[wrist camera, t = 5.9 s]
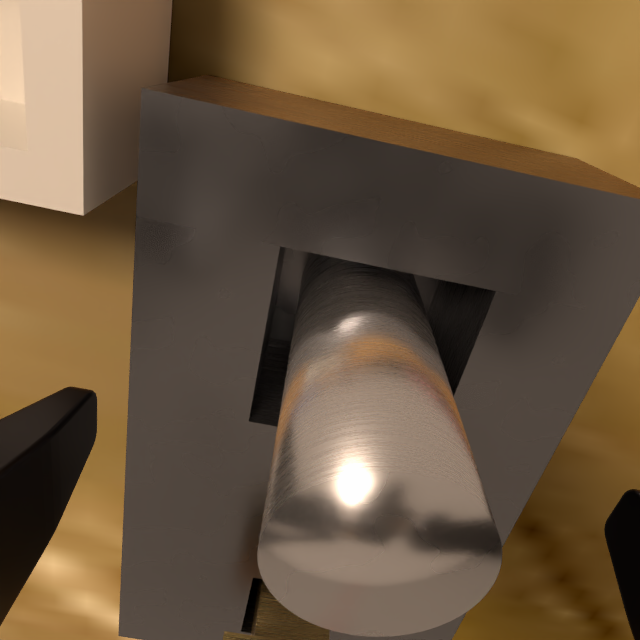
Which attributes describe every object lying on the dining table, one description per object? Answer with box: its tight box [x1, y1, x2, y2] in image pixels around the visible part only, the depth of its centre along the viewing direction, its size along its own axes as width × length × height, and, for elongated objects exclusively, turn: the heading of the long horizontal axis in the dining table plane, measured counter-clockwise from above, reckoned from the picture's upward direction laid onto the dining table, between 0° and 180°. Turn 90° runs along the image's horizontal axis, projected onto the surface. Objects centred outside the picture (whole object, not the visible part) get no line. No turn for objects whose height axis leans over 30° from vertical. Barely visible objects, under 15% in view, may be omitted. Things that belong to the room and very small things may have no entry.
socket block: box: [119, 75, 640, 640], centre depth 15 cm, size 16×10×5 cm, turn 168°
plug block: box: [223, 579, 329, 640], centre depth 16 cm, size 4×4×6 cm
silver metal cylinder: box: [257, 253, 502, 637], centre depth 11 cm, size 3×3×9 cm
